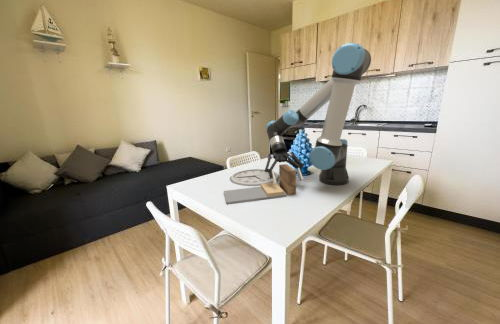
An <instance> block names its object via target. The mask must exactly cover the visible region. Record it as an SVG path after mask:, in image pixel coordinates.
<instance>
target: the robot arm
mask: <svg viewBox="0 0 500 324" xmlns="http://www.w3.org/2000/svg"><path fill="white" fill-rule="evenodd" d="M371 63H372V55H371V53H370V52H369V50H367V49H365V48H364V47H363V46H362V44H359V43H355V42H348V43H344V44H342V45H341V46H339V47H338V48H337V49H336V50H335V51H334V53H333V56H332V58H331V67H332V69H333V70H332V75H331V78H330V79H329V80H328V81H327V82H325V84H323V85H322V86H321V88H319V89H318V90H317V91H316V92H315V93H314V94H313V95H312V96H311V97H310V98H309V99H308V100H307V101H306V102H305V103H304V104H303V105H302V106H301V107H300V108H298V109H297V110H296V111H295V110H293V109H288V110H287V111H285V112H284V113H283V114H281V116H280V117H278V119H277V120H271V121H268V122H267V123H266V126H265V129H266V133H267V137H268V140H269V144H270V148H271V152H272V154H271V153H267V154H268V155H267V162H266V165H265V168H264V170H265V172H268V173H269V176H270V178H272V180H273V184H274V185H275V184H276V183H277V181H276V179H275V175H274V170H273V169H274V168H275V166H276V165H277V164H278V163H286V164H287V163H288V165H290V166H291V167H293V168H294V169H295V170H296V175H297V176H298V180H299V182H300V183H301V182H303V181H304V177H303V168H304V166H305V165H304V163H303V162H302V161H301V160H300V159H299V158H298V156H297V155H296V154H295V153H294V151H291V152H288V151H287V150H288V149H287V147H286V143H285V141H284V140H285V139H284V137H283V134H284V133H286V132H287V131H288V130H290V128H291V129H292V128H296V127H301V126H303V125H305V124H306V123H307V122H308V120H309V119H310V118H311V117H313V115H314V114H316V112H317V111H319V110H320V109H321V108H322V107H324V105H326V104H327V103H328V106H327V108H326V109H327V110H326V114H325V118H324V122H323V126H322V131H321V135H320V136H318V137H317V138H316V141H315V145H314V147H313V148H312V150H311V151H310V153H309V161H310V163H311V164H312V166H313V167H314V168H316V169H317V170H320V172H319V175H318V181H319V182H321V183H322V184H327V185H332V186H333V185H334V186H340V185H341V186H342V185H346V184H348V183H349V180H350V178H349V173H348V171H347V159H348V157H347V156H348V155H347V154H348V140H347V139H345V138H342V134H343V131H344V126H345V124H346V120H347V116H348V112H349V108H350V105H351V101H352V98H353V93H354V91H355V87H356V85H358V84H359V83H361V80H362V77H363V75H364V74H365V73H366V72H367V71H368V70H369V68H370V66H371ZM272 159H273V160H274V161H273V162H272V164H271V166H270V163H271V160H272ZM269 166H270V167H269Z"/></svg>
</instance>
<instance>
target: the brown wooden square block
mask: <svg viewBox="0 0 500 324" xmlns="http://www.w3.org/2000/svg"><path fill="white" fill-rule="evenodd" d="M278 168H279V169H278V170H279V174H278V175H279V179H278V180H279V187H280V188H281V189H282V190H283V191H284V192H285V193H286V194H287V196H289V197H290V196H295V195H296V194H297V171H296V170H297V169H296V168H294V167H293V166H291V165H290V164H287V163H286V164H285V163H284V164H279V167H278Z"/></svg>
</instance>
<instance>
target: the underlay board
mask: <svg viewBox="0 0 500 324" xmlns="http://www.w3.org/2000/svg"><path fill="white" fill-rule="evenodd" d="M223 195H224V199H225V203H226V205H232V204H241V203H247V202H248V203H250V202H257V201H263V200H265V201H266V200H270V199H272V200H273V199H280V198H286V197H287V196H288V195H287V194H286V193H285V192H284V191H283V190H282V189H281V188H280V185H279V184H277V182H276V184H275V185H274V184H273V183H267V184H261V186H252V187H246V188H245V187H244V188H236V189H230V190H223Z"/></svg>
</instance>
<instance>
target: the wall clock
mask: <svg viewBox="0 0 500 324" xmlns="http://www.w3.org/2000/svg"><path fill="white" fill-rule="evenodd" d="M274 175H275V179H276V182H278V181H279V180H280V179H279V174H278V173H276V172H274ZM229 182H231V183H232V184H235V185H237V186H244V187H246V186H247V187H261V184H267V183H273V180H272V178H270V176H269V173H268V172H265V169H259V168H257V169H245V170H241V171H238V172H235V173H233V174H232V175H231V176H230V177H229Z"/></svg>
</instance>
